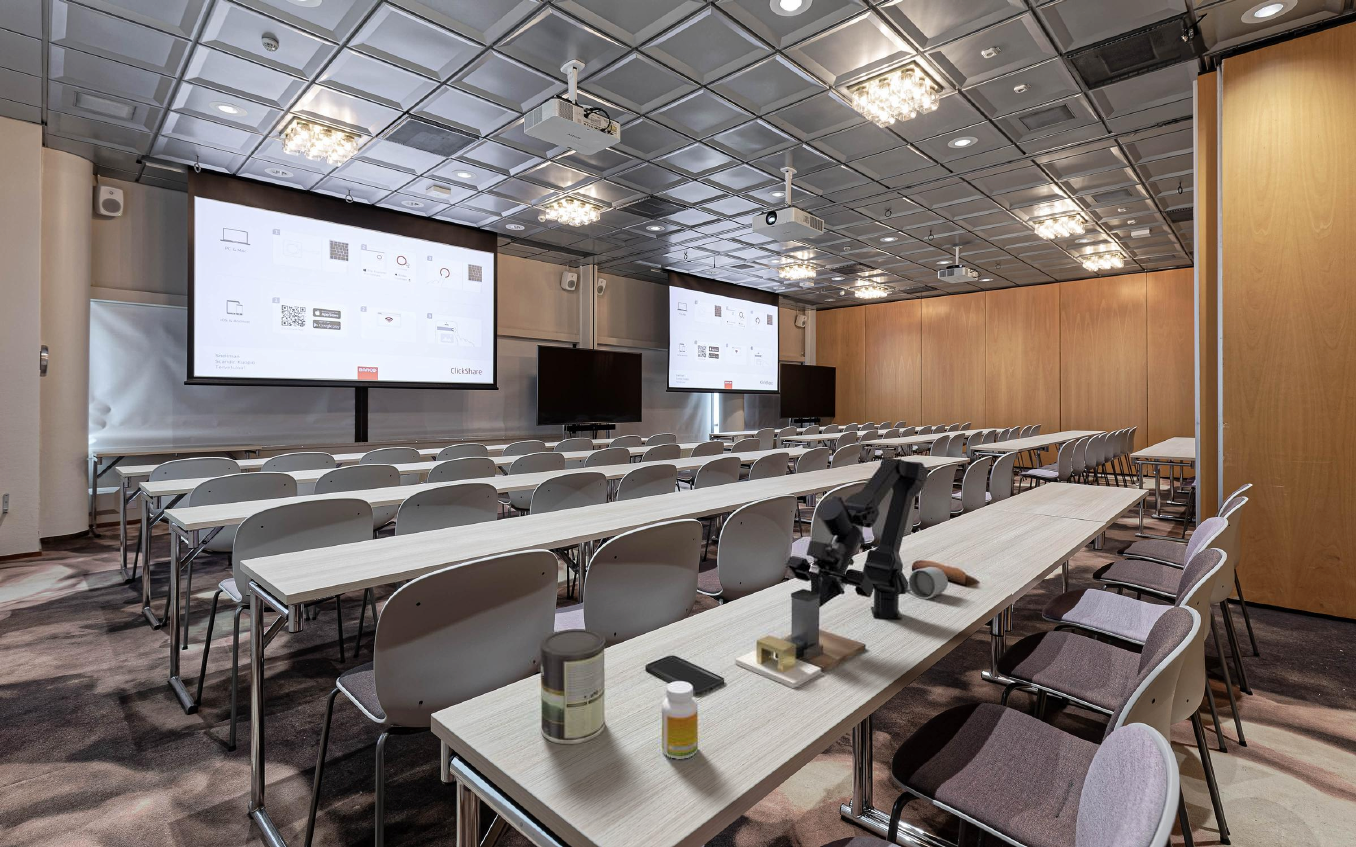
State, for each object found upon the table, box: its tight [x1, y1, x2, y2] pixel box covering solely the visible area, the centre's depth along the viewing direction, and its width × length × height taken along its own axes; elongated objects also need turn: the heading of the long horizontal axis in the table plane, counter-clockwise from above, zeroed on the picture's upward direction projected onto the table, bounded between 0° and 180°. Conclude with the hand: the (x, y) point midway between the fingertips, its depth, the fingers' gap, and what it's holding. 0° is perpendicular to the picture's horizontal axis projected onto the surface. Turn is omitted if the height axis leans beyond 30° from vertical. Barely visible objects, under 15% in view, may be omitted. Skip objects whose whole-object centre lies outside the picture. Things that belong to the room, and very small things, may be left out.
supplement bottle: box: [661, 681, 699, 760], centre depth 92 cm, size 5×5×10 cm
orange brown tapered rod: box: [911, 559, 981, 588], centre depth 180 cm, size 18×7×7 cm
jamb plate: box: [734, 649, 822, 689], centre depth 120 cm, size 9×14×1 cm, turn 44°
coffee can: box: [539, 628, 606, 745], centre depth 99 cm, size 10×10×14 cm
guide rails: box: [784, 637, 823, 661], centre depth 125 cm, size 5×7×2 cm
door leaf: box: [781, 628, 867, 673], centre depth 129 cm, size 16×14×1 cm
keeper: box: [755, 634, 796, 673], centre depth 119 cm, size 4×6×4 cm, turn 43°
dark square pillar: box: [775, 588, 820, 659], centre depth 124 cm, size 10×4×12 cm, turn 134°
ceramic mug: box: [907, 567, 949, 600], centre depth 165 cm, size 11×8×8 cm
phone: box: [644, 654, 725, 697], centre depth 117 cm, size 8×1×15 cm
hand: (811, 609), depth 127 cm, fingers closed, pressing on dark square pillar
